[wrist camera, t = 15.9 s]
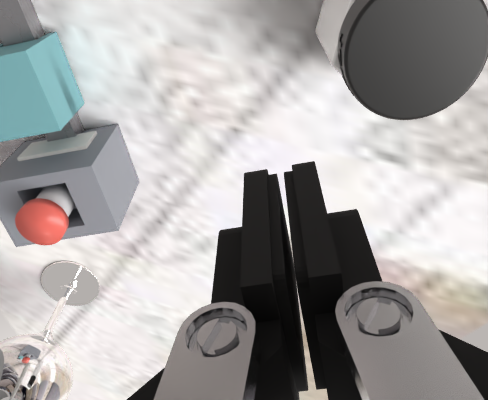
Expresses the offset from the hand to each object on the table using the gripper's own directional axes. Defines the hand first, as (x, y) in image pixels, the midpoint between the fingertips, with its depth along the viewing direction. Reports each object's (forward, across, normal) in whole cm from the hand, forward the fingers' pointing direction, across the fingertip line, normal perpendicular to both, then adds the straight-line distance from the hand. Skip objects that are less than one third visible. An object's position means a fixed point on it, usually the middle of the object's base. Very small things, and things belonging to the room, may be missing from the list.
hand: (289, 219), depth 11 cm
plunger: (+24, +19, +10) cm, 32 cm away
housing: (+29, +19, +10) cm, 36 cm away
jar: (+29, -8, +2) cm, 30 cm away
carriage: (+29, +19, +2) cm, 35 cm away
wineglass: (+29, +26, +24) cm, 46 cm away
